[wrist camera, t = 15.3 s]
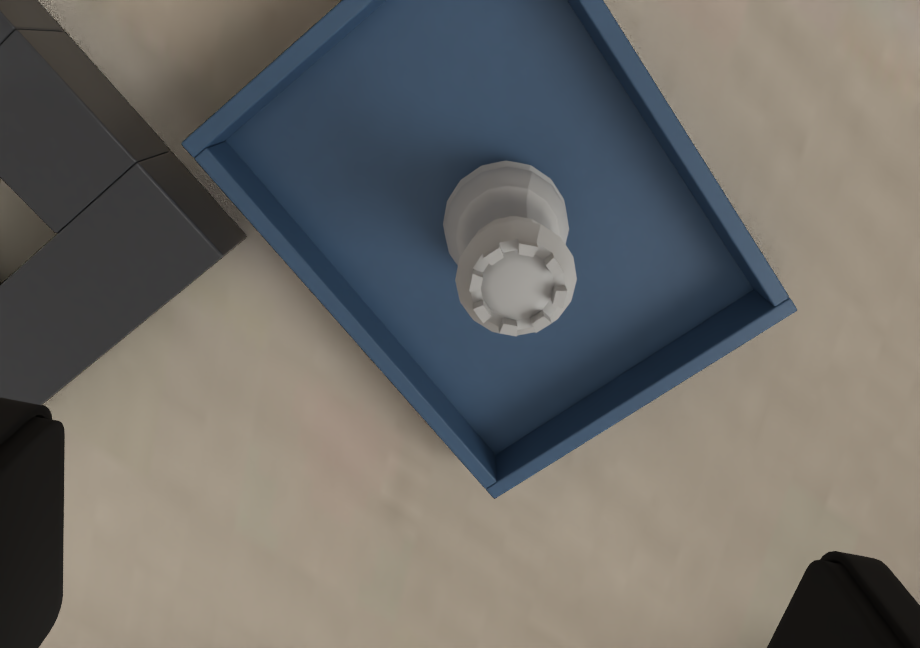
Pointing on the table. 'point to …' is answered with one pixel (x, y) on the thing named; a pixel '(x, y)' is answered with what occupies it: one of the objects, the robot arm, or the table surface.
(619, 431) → the table surface
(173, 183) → the square hole block
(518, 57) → the basin tray
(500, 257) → the rook chess piece
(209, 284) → the table surface
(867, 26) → the table surface
